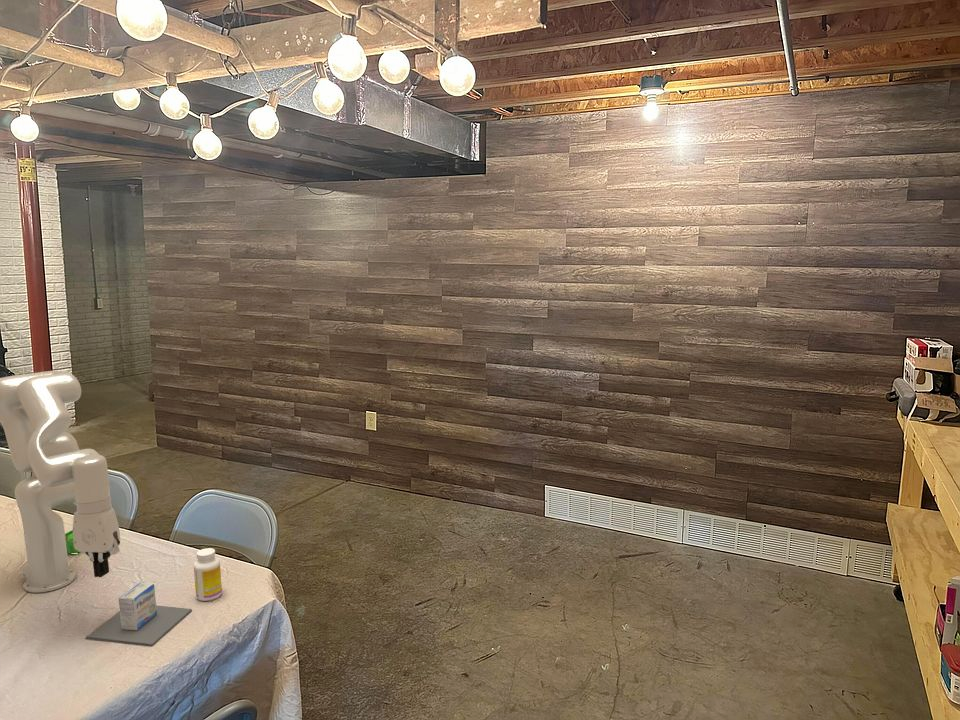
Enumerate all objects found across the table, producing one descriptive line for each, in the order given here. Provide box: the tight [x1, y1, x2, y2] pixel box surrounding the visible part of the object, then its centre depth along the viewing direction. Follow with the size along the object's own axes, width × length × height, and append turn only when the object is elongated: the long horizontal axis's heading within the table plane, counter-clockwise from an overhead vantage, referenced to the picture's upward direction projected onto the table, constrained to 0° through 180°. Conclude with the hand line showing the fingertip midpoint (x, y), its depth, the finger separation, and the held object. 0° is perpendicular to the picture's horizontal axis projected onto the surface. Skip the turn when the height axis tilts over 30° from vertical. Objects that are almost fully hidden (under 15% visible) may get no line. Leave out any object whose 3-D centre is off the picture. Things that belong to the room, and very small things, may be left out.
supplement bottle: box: [193, 547, 223, 602], centre depth 182 cm, size 7×7×13 cm
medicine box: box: [118, 582, 157, 631], centre depth 168 cm, size 8×4×9 cm, turn 170°
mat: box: [85, 604, 193, 647], centre depth 169 cm, size 18×16×1 cm
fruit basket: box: [65, 529, 79, 554], centre depth 211 cm, size 11×9×11 cm
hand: (101, 574), depth 168 cm, fingers closed
